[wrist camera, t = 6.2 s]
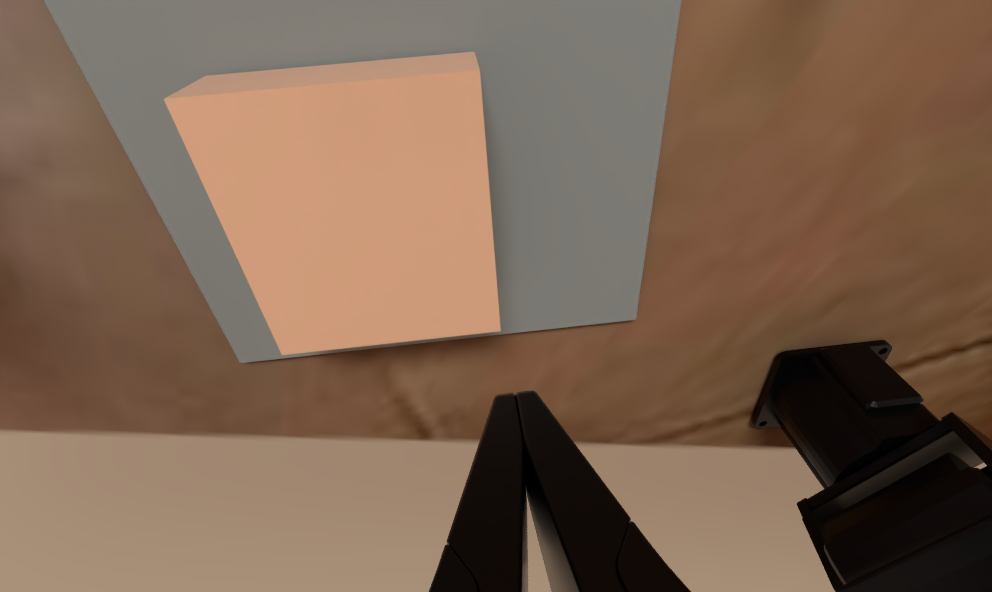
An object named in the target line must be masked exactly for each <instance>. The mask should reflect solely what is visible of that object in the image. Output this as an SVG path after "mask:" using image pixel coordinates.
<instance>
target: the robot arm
mask: <svg viewBox="0 0 992 592" xmlns="http://www.w3.org/2000/svg"><path fill="white" fill-rule="evenodd" d="M891 350H892V346H891V345H890V344H889V343H888V342H887V341H885V340H878V341H869V342H860V343H851V344H843V345H834V346H825V347H816V348H807V349H798V350H789V351H785V352H782V353H781V354H780V355H778V357H777V359H776V361H775V364H774V366H773V369H772V371H771V374H770V376H769V379H768V381H767V384H766V386H765V389H764V391H763V394H762V396H761V399H760V401H759V404H758V406H757V409H756V411H755V414H754V416H753V419H752V422H753V424H754V425H755V427H756V428H758V429H763V428H772V427H780V426H781V428H782V429H783V431H784V432H785V434H786V435H787V436H788V438H789V439H790V441H791V442H792V444H793V445H794V446H795V448H796V449H797V451H798V452H799V454H800V455H801V456H802V458H803V459H804V461H805V462H806V463H807V465H808V466H809V468H810V469H811V471H812V472H813V474H814V475H815V476H816V478H817V479H818V481H819V482H820V484H821V485H822V486H823V487H824V490H822V491H820V492H819V493H817V494H815V495H814V496H812V497H810V498H808V499H806V498H805V499H803V500H801V501H799V502H798V503H797V506H798V508H799V510H800V513H801V515H802V517H803V518H802V520H803V522H804V524H805V526H806V529H807V531H808V533H809V535H810V538H811V540H812V542H813V544H814V547H815V549H816V551H817V553H818V555H819V558H820V559H821V562H822V564H823V566H824V569H825V571H826V573H827V575H828V578H829V580H830V582H831V584H832V586H833V588H834V590H835V591H836V592H992V440H991V439H990V438H989V437H987V436H986V435H984V434H983V433H982V432H980V431H979V430H977V429H976V428H974V427H973V426H972V425H970V424H969V423H967V422H966V421H964V420H963V419H962V418H960V417H959V416H957V415H956V414H954V413H953V412H951V413H949V414H947V415H945V416H944V417H942V418H941V419H942V420H941V421H939V420H938V419H937V418H936V417H935V416H934V415H933V414H932V413H931V412H930V411H929V410H928V409H927V408H926V407H925V406H924V405H923V404H922V402H923V398H922V397H921V396H920V394H918V393H917V392H916V391H915V390H914V389H913V388H912V387H911V386H910V385H909V384H908V383H907V382H906V381H905V380H904V379H903V378H901V377H900V376H899V375H898V374H897V373H896V372H895V371H894V370H893V369H892V368H891V367H890V366H889V365H888V364H887V363H886V362H885V360H886V359H887V357H888V355H889V354H890V352H891ZM982 463H985V464H986V465H987V466H986V467H984V468H982V469H978V468H974V467H976V466H978V465H980V464H982ZM526 491H527V497H528V501H529V506H530V510H531V513H532V518H533V521H534V525H535V529H536V533H537V537H538V541H539V544H540V548H541V552H542V556H543V560H544V564H545V568H546V572H547V575H548V579H549V583H550V587H551V591H552V592H691V591H690V590H689V589H688V588H687V587H686V586H685V585H684V584H683V582H682V581H681V580H680V579H679V578H678V577H677V576H676V575H675V573H674V572H673V571H672V570H671V569H670V568H669V567H668V566H667V564H666V563H665V562H664V561H663V559H662V558H661V557H660V556H659V554H658V553H657V552H656V551H655V549H654V548H653V547H652V546H651V544H650V543H649V542H648V540H647V539H646V538H645V537H644V535H643V534H642V533H641V532H640V530H639V529H638V527H637V526H636V525H635V523H634V522H630V520H631V519H630V517H629V516H628V514H627V513H626V512H625V510H624V509H623V508H622V506H621V505H620V504H619V502H618V501H617V500H616V498H615V497H614V496H613V494H612V493H611V492H610V490H609V489H608V488H607V486H606V485H605V484H604V482H603V481H602V480H601V478H600V477H599V476H598V474H597V473H596V472H595V470H594V469H593V468H592V466H591V465H590V464H589V462H588V461H587V460H586V458H585V457H584V456H583V454H582V453H581V452H580V450H579V449H578V448H577V446H576V445H575V444H574V442H573V441H572V440H571V438H570V437H569V436H568V434H567V433H566V432H565V430H564V429H563V428H562V426H561V425H560V424H559V422H558V421H557V420H556V418H555V417H554V416H553V414H552V413H551V412H550V410H549V409H548V408H547V406H546V405H545V404H544V402H543V401H542V400H541V398H540V397H539V396H538V394H537V393H536V392H535V391H523V392H517V393H516V395H514V394H513V393H506V394H498V395H496V396H495V398H494V400H493V403H492V406H491V409H490V412H489V415H488V418H487V421H486V424H485V427H484V430H483V433H482V436H481V439H480V442H479V445H478V449H477V451H476V454H475V457H474V461H473V463H472V466H471V470H470V473H469V476H468V479H467V482H466V485H465V488H464V491H463V494H462V497H461V500H460V503H459V506H458V509H457V512H456V515H455V518H454V521H453V524H452V527H451V530H450V533H449V536H448V539H447V545H445V547H444V550H443V553H442V556H441V559H440V562H439V565H438V568H437V571H436V574H435V576H434V579H433V581H432V584H431V587H430V590H429V592H528V557H527V556H528V554H527V553H528V550H527V498H526Z"/></svg>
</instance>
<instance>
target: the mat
mask: <svg viewBox="0 0 992 592" xmlns="http://www.w3.org/2000/svg"><path fill="white" fill-rule="evenodd" d="M44 2H45V4H46V6H47V8H48V9H49V11H50V13H51V15H52V17H53V19H54V20H55V22H56V24H57V26H58V28H59V30H60V32H61V33H62V35H63V37H64V39H65V41H66V43H67V44H68V46H69V48H70V50H71V52H72V54H73V56H74V57H75V59H76V61H77V63H78V65H79V67H80V68H81V70H82V72H83V74H84V76H85V78H86V79H87V81H88V83H89V85H90V87H91V89H92V91H93V92H94V94H95V96H96V98H97V100H98V102H99V103H100V105H101V107H102V109H103V111H104V113H105V115H106V116H107V118H108V120H109V122H110V124H111V126H112V127H113V129H114V131H115V133H116V135H117V137H118V138H119V140H120V142H121V144H122V146H123V148H124V150H125V151H126V153H127V155H128V157H129V159H130V161H131V162H132V164H133V166H134V168H135V170H136V172H137V174H138V175H139V177H140V179H141V181H142V183H143V185H144V186H145V188H146V190H147V192H148V194H149V196H150V197H151V199H152V201H153V203H154V205H155V207H156V209H157V210H158V212H159V214H160V216H161V218H162V220H163V221H164V223H165V225H166V227H167V229H168V231H169V233H170V234H171V236H172V238H173V240H174V242H175V244H176V245H177V247H178V249H179V251H180V253H181V255H182V257H183V258H184V260H185V262H186V264H187V266H188V268H189V269H190V271H191V273H192V275H193V277H194V279H195V280H196V282H197V284H198V286H199V288H200V290H201V292H202V293H203V295H204V297H205V299H206V301H207V303H208V304H209V306H210V308H211V310H212V312H213V314H214V316H215V317H216V319H217V321H218V323H219V325H220V327H221V328H222V330H223V332H224V334H225V336H226V338H227V339H228V341H229V343H230V345H231V347H232V349H233V351H234V352H235V354H236V356H237V358H238V360H239V362H240V363H246V362H255V361H264V360H273V359H282V358H291V357H301V356H310V355H319V354H328V353H337V352H346V351H355V350H364V349H373V348H383V347H392V346H401V345H410V344H419V343H428V342H437V341H446V340H456V339H465V338H474V337H483V336H492V335H501V334H510V333H519V332H528V331H538V330H547V329H556V328H565V327H574V326H583V325H592V324H601V323H610V322H620V321H629V320H636V315H637V308H638V301H639V294H640V287H641V280H642V273H643V266H644V259H645V252H646V245H647V238H648V231H649V224H650V217H651V210H652V203H653V196H654V189H655V182H656V175H657V168H658V161H659V154H660V147H661V140H662V133H663V126H664V119H665V112H666V105H667V98H668V91H669V84H670V77H671V70H672V63H673V56H674V49H675V42H676V35H677V28H678V21H679V14H680V7H681V0H44ZM463 52H475V55H476V58H477V62H478V65H479V68H480V77H481V89H482V102H483V114H484V127H485V139H486V152H487V164H488V177H489V190H490V202H491V215H492V227H493V240H494V252H495V265H496V277H497V290H498V303H499V315H500V328H501V331H498V332H489V333H480V334H471V335H462V336H453V337H444V338H435V339H425V340H416V341H407V342H398V343H389V344H380V345H371V346H361V347H352V348H343V349H334V350H325V351H316V352H307V353H297V354H288V355H282V354H281V352H280V350H279V348H278V345H277V343H276V341H275V339H274V337H273V335H272V333H271V330H270V328H269V326H268V324H267V322H266V320H265V317H264V315H263V313H262V311H261V309H260V307H259V304H258V302H257V300H256V298H255V296H254V294H253V291H252V289H251V287H250V285H249V283H248V281H247V278H246V276H245V274H244V272H243V270H242V268H241V265H240V263H239V261H238V259H237V257H236V255H235V253H234V250H233V248H232V246H231V244H230V242H229V240H228V237H227V235H226V233H225V231H224V229H223V227H222V224H221V222H220V220H219V218H218V216H217V214H216V211H215V209H214V207H213V205H212V203H211V201H210V198H209V196H208V194H207V192H206V190H205V188H204V185H203V183H202V181H201V179H200V177H199V175H198V173H197V170H196V168H195V166H194V164H193V162H192V160H191V157H190V155H189V153H188V151H187V149H186V147H185V144H184V142H183V140H182V138H181V136H180V134H179V131H178V129H177V127H176V125H175V123H174V121H173V118H172V116H171V114H170V112H169V110H168V108H167V106H166V103H165V101H164V99H165V98H166V97H168V96H170V95H172V94H174V93H175V92H177V91H179V90H181V89H183V88H185V87H186V86H188V85H190V84H192V83H194V82H195V81H197V80H199V79H201V78H203V77H204V76H208V75H219V74H230V73H241V72H253V71H264V70H275V69H286V68H297V67H308V66H319V65H330V64H341V63H352V62H363V61H374V60H386V59H397V58H408V57H419V56H430V55H441V54H452V53H463Z"/></svg>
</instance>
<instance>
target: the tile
mask: <svg viewBox="0 0 992 592" xmlns="http://www.w3.org/2000/svg"><path fill="white" fill-rule="evenodd" d="M164 101H165V103H166V106H167V108H168V110H169V112H170V114H171V116H172V118H173V121H174V123H175V125H176V127H177V129H178V131H179V134H180V136H181V138H182V140H183V142H184V144H185V147H186V149H187V151H188V153H189V155H190V157H191V160H192V162H193V164H194V166H195V168H196V170H197V173H198V175H199V177H200V179H201V181H202V183H203V185H204V188H205V190H206V192H207V194H208V196H209V198H210V201H211V203H212V205H213V207H214V209H215V211H216V214H217V216H218V218H219V220H220V222H221V224H222V227H223V229H224V231H225V233H226V235H227V237H228V240H229V242H230V244H231V246H232V248H233V250H234V253H235V255H236V257H237V259H238V261H239V263H240V265H241V268H242V270H243V272H244V274H245V276H246V278H247V281H248V283H249V285H250V287H251V289H252V291H253V294H254V296H255V298H256V300H257V302H258V304H259V307H260V309H261V311H262V313H263V315H264V317H265V320H266V322H267V324H268V326H269V328H270V330H271V333H272V335H273V337H274V339H275V341H276V343H277V345H278V348H279V350H280V352H281V354H282V355H288V354H297V353H307V352H316V351H325V350H334V349H343V348H352V347H361V346H371V345H380V344H389V343H398V342H407V341H416V340H425V339H435V338H444V337H453V336H462V335H471V334H480V333H489V332H498V331H501V328H500V315H499V303H498V290H497V277H496V265H495V252H494V240H493V227H492V215H491V202H490V190H489V177H488V164H487V152H486V139H485V127H484V114H483V102H482V89H481V77H480V68H479V65H478V62H477V58H476V55H475V52H463V53H452V54H441V55H430V56H419V57H408V58H397V59H386V60H374V61H363V62H352V63H341V64H330V65H319V66H308V67H297V68H286V69H275V70H264V71H253V72H241V73H230V74H219V75H208V76H204V77H203V78H201V79H199V80H197V81H195V82H194V83H192V84H190V85H188V86H186V87H185V88H183V89H181V90H179V91H177V92H175V93H174V94H172V95H170V96H168V97H166V98H165V99H164Z"/></svg>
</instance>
